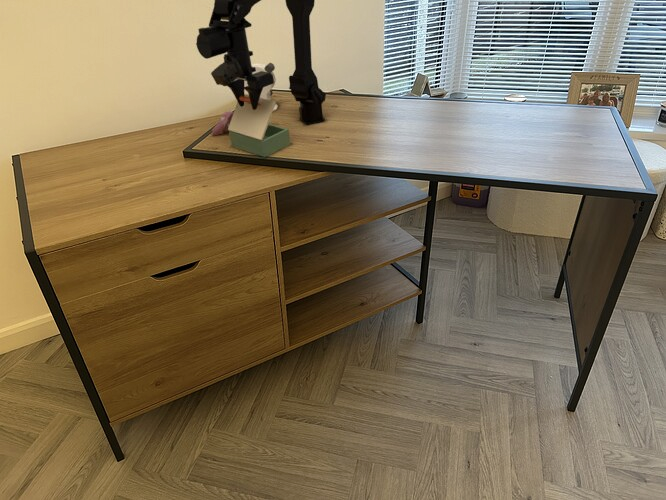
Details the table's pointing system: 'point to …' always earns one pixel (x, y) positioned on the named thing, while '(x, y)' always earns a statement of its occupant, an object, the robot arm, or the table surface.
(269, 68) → the panda figurine
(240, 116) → the lid
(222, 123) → the purple oblong lump
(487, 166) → the table surface
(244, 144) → the box
